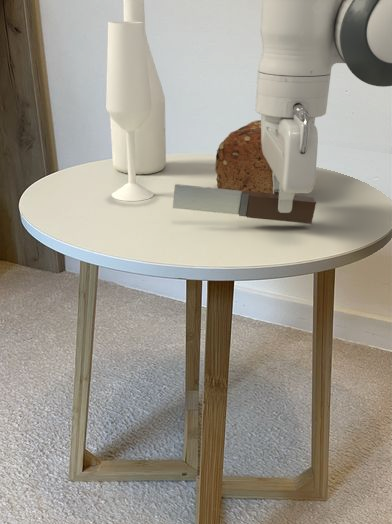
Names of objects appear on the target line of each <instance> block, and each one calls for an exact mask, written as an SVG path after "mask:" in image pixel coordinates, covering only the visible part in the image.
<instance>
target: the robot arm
mask: <svg viewBox="0 0 392 524" xmlns="http://www.w3.org/2000/svg"><path fill="white" fill-rule="evenodd" d="M260 14H261V15H260V28H259V29H260V31H259V32H260V37H261V43H262V44H261V45H262V48H261V56H260V59H259V63H258V65H257V75H256V76H257V77H256V93H255V106H254V109H255V112H256V113H258V114H260V120H261V144H262V152H263V155H264V157H265V159H266V160H267V162H268V164H269V166H270V168H271V169H272V171H273V172H272V176H273V194H279V196H278V198H277V208H278V211H279V212H280V213H289V212H291V210H292V203H293V198H294V196H296V194H310V193H311V192H312V191H313V189H314V186H315V181H316V172H317V159H318V141H319V134H318V128H317V125H315V123H316V118H320V117H323V116H326V114H327V108H328V98H329V92H330V83H331V74H332V68H333V66H334V65H336V64H345V65H346V66H347V68H348V69H349V71H350V72H351V74H353V76H355V77H356V78H357V79H358V80H360V81H361V82H363V83H365V84H367V85H369V86H374V87H380V88H381V87H383V88H385V87H392V0H262V3H261V13H260Z"/></svg>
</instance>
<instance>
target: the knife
mask: <svg viewBox="0 0 392 524" xmlns="http://www.w3.org/2000/svg"><path fill="white" fill-rule="evenodd" d="M173 189H174V191H173V202H172V209H175V210H176V209H177V210H189V211H197V212H208V213H217V214H226V215H227V214H228V215H238V216H239V217H246V218H247V219H258V220H269V221H270V220H271V221H278V222H279V221H280V222H290V223H298V224H299V223H300V224H310V225H312V223H313V218H314V213H315V209H316V205H317V202H316V200H315V199H314V197H310V196H300V195H295V196H294V198H293V203H292V210H291V212H289V213H280V212H279V211H278V208H277V198H278V196H279V194H272V193H262V192H252V191H248V192H246V191H239V190H229V189H219V188H218V187H210V186H209V187H207V186H199V185H189V184H179V183H175V184H174V188H173Z"/></svg>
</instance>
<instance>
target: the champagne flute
mask: <svg viewBox="0 0 392 524" xmlns="http://www.w3.org/2000/svg"><path fill="white" fill-rule="evenodd" d="M106 49H107V51H106V52H107V54H106V89H105V91H106V92H105V109H106V112H107V113H108V115H109V117H110V116H111V118H112V119H113V120H114V121H115V122H116V123H117V124H118V125H119V126H120V127H121V128H122V129H124V130H126V138H127V160H128V174H127V179H128V182H127V183H126V184H124V185H123V186H121V187H119V188H118V189H116V190H115V191H113V192H112V193H111V197H112V198H113V199H115V200H118V201H123V202H140V201H141V202H142V201H147V200H149V199H151V198H153V197H154V196H155V193H154V192H153V191H151V190H150V189H148V188H146V187H145V186H142V185H141V184H140V183H138V182H137V174H136V169H135V144H134V130H136V129H137V128H139V127H140V126H141V125H142V123H143V122H144V121H145V120H146V119H147V117H148V116H149V114H150V112H151V109H152V103H151V94H150V85H149V76H148V67H147V58H146V49H145V40H144V31H143V22H128V21H124V20H123V21H122V20H121V21H108V22H107V47H106Z"/></svg>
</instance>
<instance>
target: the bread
mask: <svg viewBox="0 0 392 524" xmlns="http://www.w3.org/2000/svg"><path fill="white" fill-rule="evenodd" d="M214 163H215V164H214V165H215V166H214V167H215V168H214V171H215V173H216V179H215V181H216V188H219V189H229V190H239V191H246V192H248V191H252V192H262V193H272V194H273V176H272V172H273V171H272V169H271V168H270V166H269V164H268V162H267V160H266V159H265V157H264V155H263V152H262V144H261V119H259V120H254V121H251V122H249V123H247V124H246V125H243V126H241V127H240V128H237V129H236V130H234V131H231V132H229V133H228V135H227V136H226V137H225V138H224V139H223V141H221V142H220V144H219V145H218V148H217V149H216V155H215V162H214Z"/></svg>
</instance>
